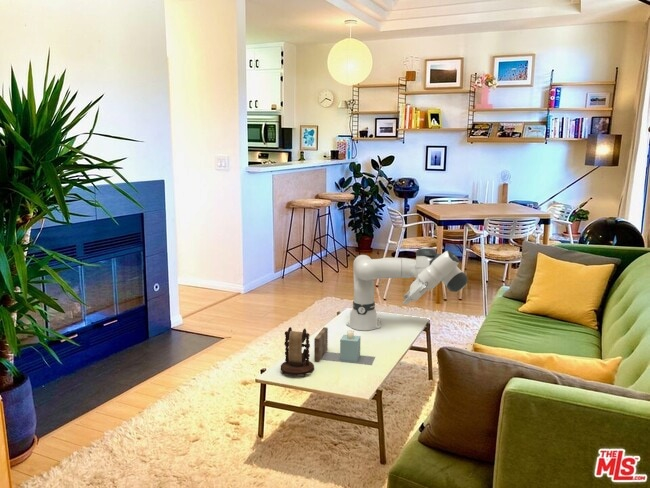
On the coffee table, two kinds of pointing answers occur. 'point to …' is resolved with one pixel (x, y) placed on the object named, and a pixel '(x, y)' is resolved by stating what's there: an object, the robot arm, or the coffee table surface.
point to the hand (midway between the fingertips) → (404, 300)
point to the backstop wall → (320, 344)
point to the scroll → (297, 354)
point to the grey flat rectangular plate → (336, 357)
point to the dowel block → (350, 347)
